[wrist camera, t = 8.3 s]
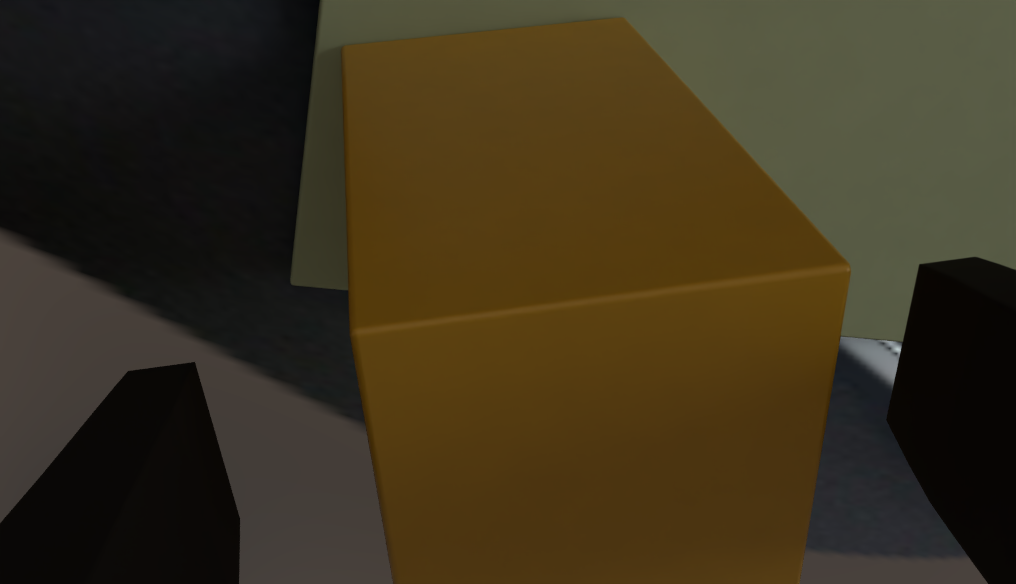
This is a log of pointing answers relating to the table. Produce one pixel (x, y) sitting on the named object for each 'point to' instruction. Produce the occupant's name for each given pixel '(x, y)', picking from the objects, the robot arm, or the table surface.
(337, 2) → the mat
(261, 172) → the table surface
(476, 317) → the block
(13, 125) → the table surface
